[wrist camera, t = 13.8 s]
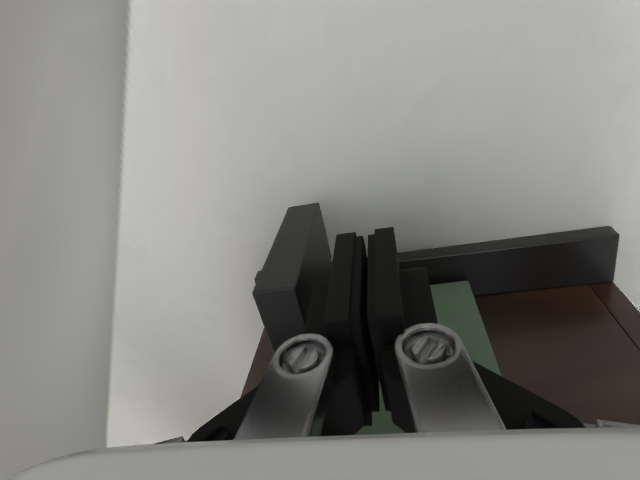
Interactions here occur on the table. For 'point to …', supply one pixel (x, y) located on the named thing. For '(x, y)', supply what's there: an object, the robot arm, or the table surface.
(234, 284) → the table surface
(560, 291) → the cabinet
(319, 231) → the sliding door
